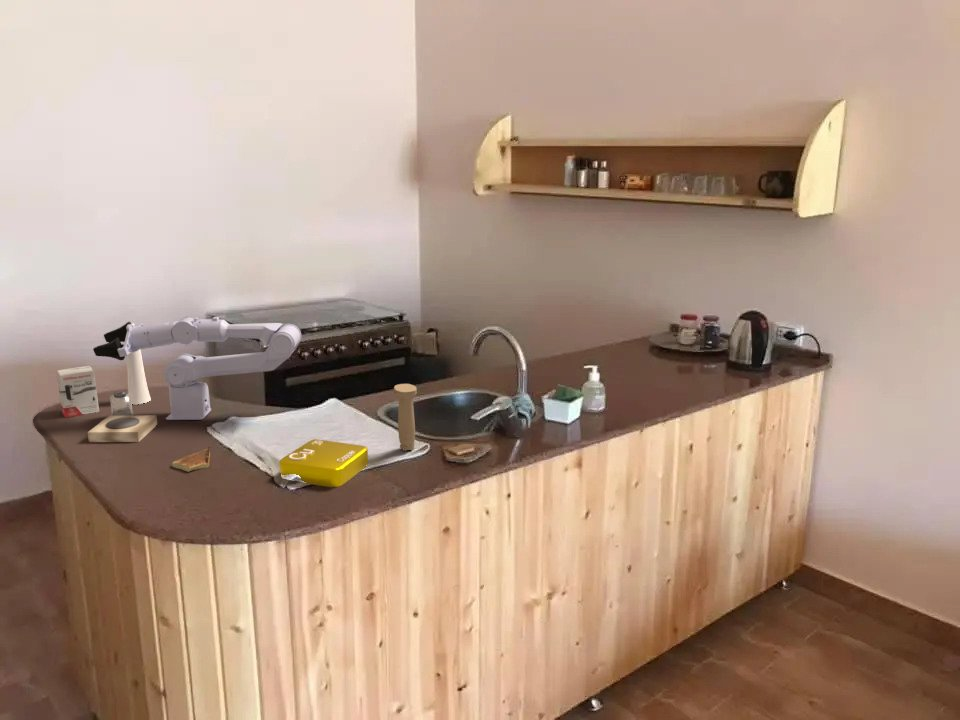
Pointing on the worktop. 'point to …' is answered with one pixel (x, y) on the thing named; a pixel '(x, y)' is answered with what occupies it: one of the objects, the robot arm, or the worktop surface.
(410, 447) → the handle
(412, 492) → the worktop surface
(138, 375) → the cosmetic bottle
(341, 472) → the element tile
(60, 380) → the ink box
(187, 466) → the shard
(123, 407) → the cylinder
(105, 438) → the stand
